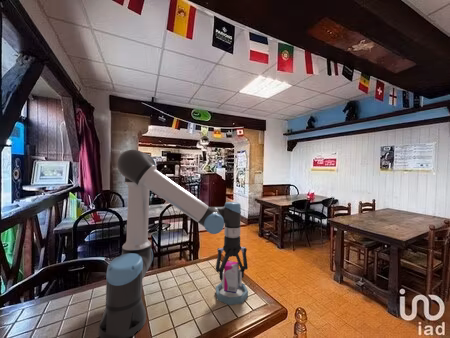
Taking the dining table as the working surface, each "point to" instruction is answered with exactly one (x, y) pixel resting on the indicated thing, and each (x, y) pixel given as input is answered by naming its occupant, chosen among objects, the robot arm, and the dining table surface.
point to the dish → (231, 295)
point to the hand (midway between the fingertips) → (231, 285)
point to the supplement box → (231, 277)
